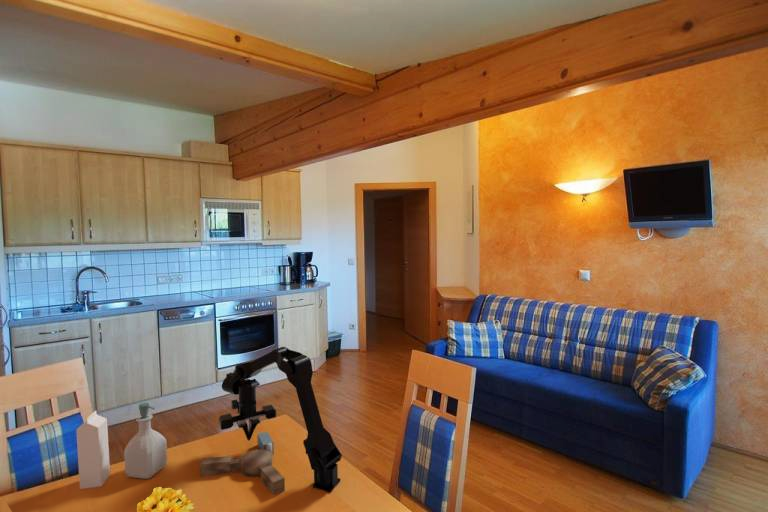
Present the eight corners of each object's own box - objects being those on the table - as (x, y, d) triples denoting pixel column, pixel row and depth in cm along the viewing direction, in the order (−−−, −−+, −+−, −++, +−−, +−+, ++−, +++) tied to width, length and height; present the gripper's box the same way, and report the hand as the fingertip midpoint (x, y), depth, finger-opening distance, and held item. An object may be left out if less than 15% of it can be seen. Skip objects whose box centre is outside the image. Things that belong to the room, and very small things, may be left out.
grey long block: (275, 456, 142) (274, 444, 142) (265, 459, 141) (264, 446, 140) (267, 442, 152) (267, 430, 152) (257, 444, 150) (257, 433, 150)
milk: (79, 489, 125) (74, 419, 123) (89, 477, 131) (85, 410, 129) (101, 486, 126) (97, 417, 125) (110, 475, 132) (106, 408, 131)
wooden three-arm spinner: (305, 469, 134) (305, 458, 134) (276, 498, 120) (276, 485, 120) (231, 450, 146) (230, 440, 146) (196, 475, 132) (195, 463, 132)
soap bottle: (148, 482, 128) (145, 411, 127) (122, 478, 130) (118, 409, 129) (170, 464, 138) (167, 398, 136) (145, 461, 140) (142, 396, 138)
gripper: (268, 384, 156) (269, 424, 157) (215, 394, 147) (217, 436, 148) (276, 394, 146) (277, 437, 147) (220, 406, 137) (222, 451, 138)
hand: (248, 439), depth 145 cm, fingers closed
